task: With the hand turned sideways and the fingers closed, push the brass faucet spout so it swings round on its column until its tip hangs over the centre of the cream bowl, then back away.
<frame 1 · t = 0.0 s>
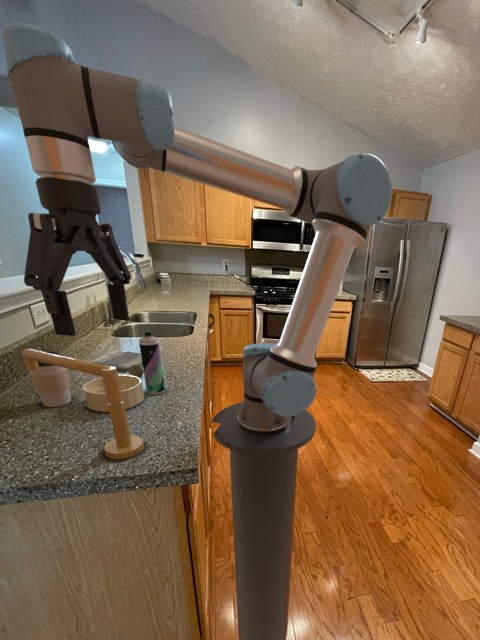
hand: (97, 326, 55), 30 cm above the counter, tool pointing down, fingers open, 13 cm apart
lime: (137, 378, 115), on the counter
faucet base: (125, 449, 74), on the counter
faucet spout: (70, 374, 71), point 16 cm above the counter, hinge at 0.0°
cream bowl: (116, 401, 96), on the counter
coffee cup: (57, 402, 94), on the counter
dish towel: (124, 363, 129), on the counter
spray can: (156, 392, 105), on the counter
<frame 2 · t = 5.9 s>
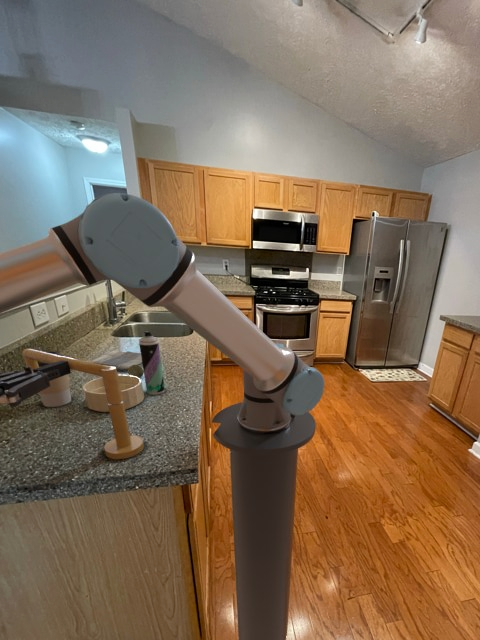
hand: (66, 366, 68), 19 cm above the counter, tool horizontal, fingers closed
faucet spout: (70, 374, 71), point 16 cm above the counter, hinge at -0.1°, touching gripper
everything else where it was.
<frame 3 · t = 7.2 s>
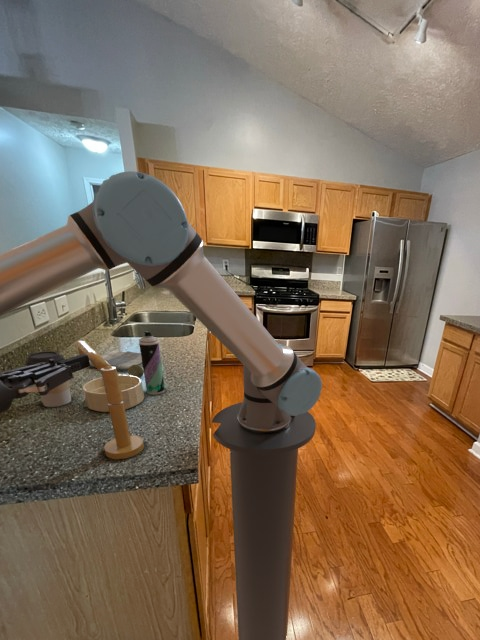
hand: (86, 360, 73), 19 cm above the counter, tool horizontal, fingers closed
faucet spout: (96, 368, 76), point 16 cm above the counter, hinge at -25.6°, touching gripper
everything else where it was.
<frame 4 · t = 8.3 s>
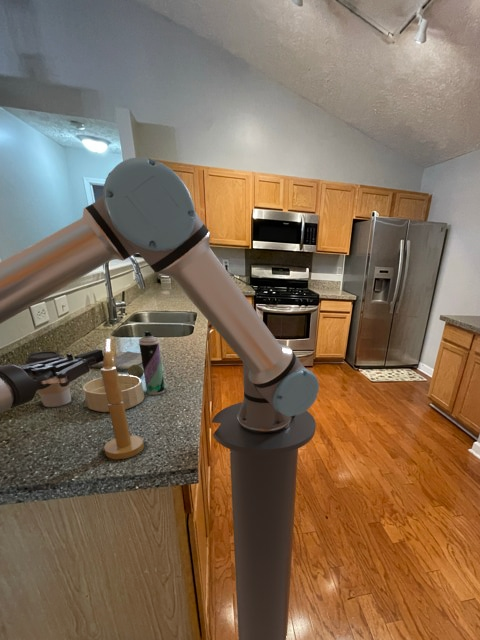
hand: (100, 355, 77), 19 cm above the counter, tool horizontal, fingers closed
faucet spout: (111, 366, 77), point 16 cm above the counter, hinge at -39.6°
everything else where it was.
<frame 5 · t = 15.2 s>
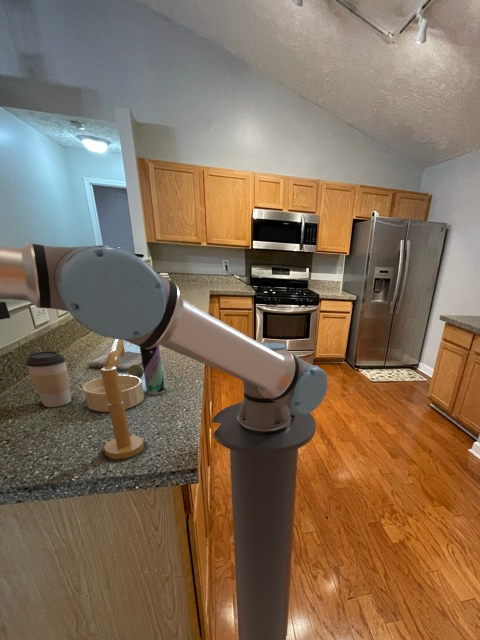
hand: (4, 309, 55), 32 cm above the counter, tool horizontal, fingers closed
faucet spout: (116, 366, 78), point 16 cm above the counter, hinge at -44.3°
everything else where it was.
at the end: faucet spout at -44° (first picture: +0°); faucet spout touching nothing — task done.
